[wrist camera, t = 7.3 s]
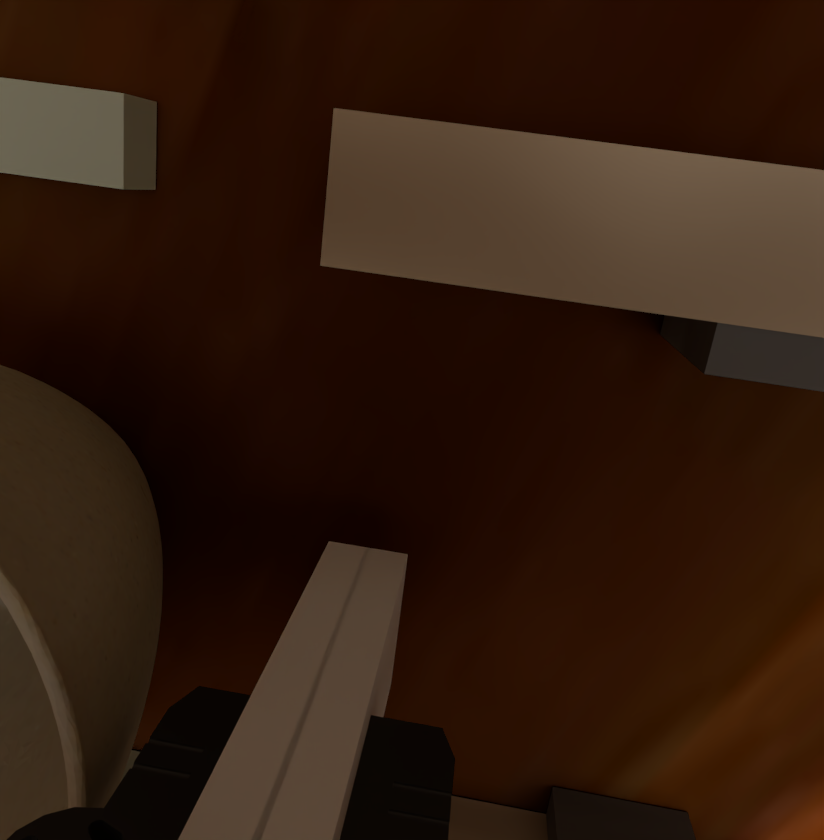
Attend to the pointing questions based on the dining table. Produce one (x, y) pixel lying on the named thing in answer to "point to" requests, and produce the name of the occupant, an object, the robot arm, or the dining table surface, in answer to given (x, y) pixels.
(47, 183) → the dining table surface
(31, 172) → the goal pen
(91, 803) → the flower pot
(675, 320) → the twin plank rack
